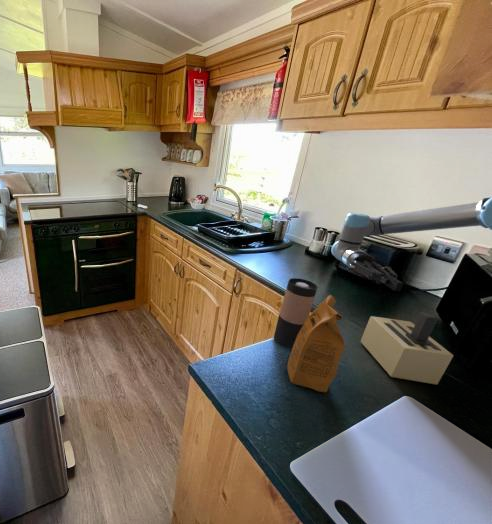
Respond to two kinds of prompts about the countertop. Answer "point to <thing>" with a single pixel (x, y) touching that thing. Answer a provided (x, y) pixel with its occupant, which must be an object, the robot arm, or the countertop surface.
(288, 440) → the countertop surface
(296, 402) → the countertop surface
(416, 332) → the slide button
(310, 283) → the travel mug
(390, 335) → the toaster
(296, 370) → the coffee package
